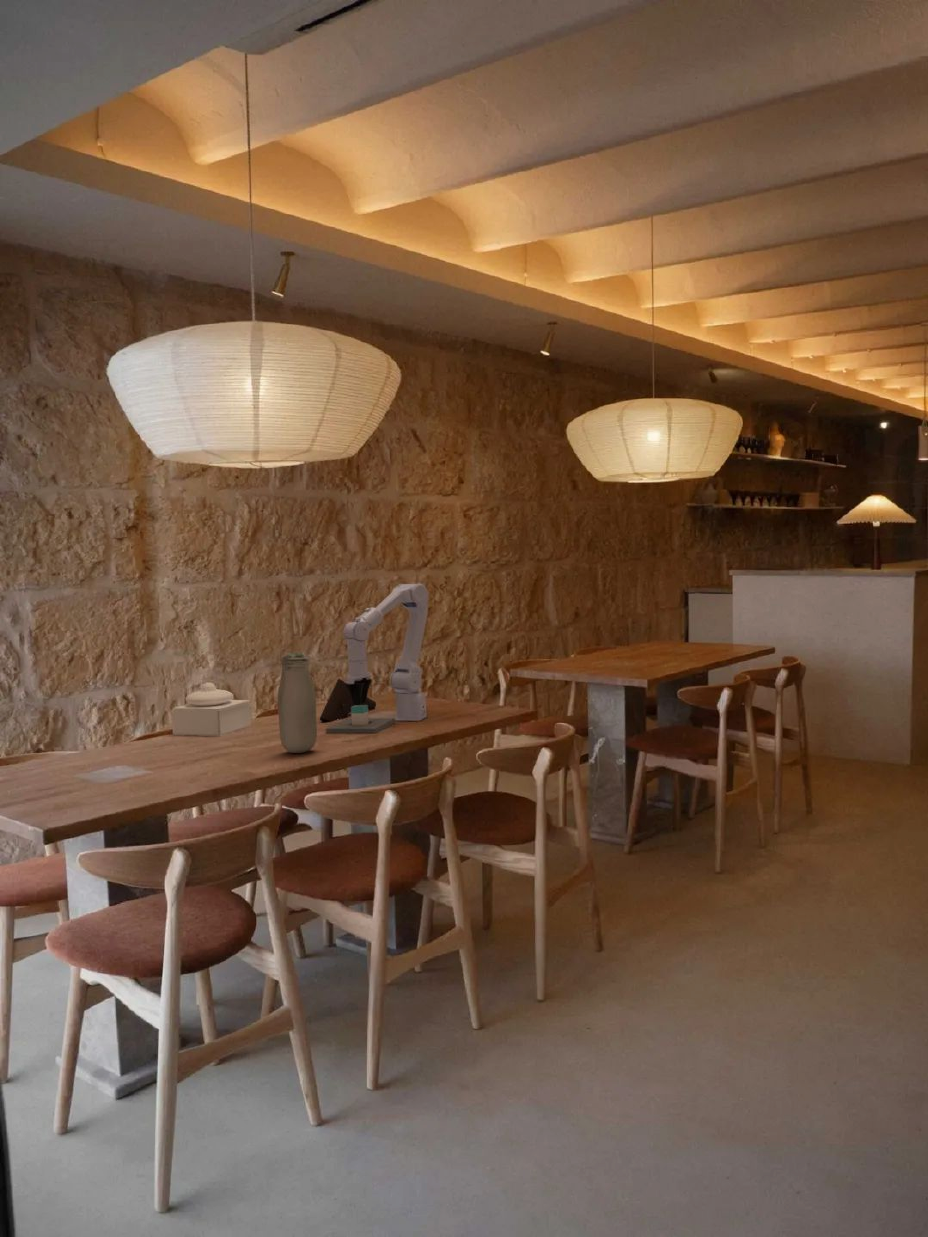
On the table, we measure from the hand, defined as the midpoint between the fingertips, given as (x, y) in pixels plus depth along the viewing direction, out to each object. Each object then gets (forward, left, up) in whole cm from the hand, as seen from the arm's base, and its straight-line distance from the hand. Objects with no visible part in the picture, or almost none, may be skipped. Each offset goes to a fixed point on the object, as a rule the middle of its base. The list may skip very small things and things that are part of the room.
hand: (359, 704), depth 310 cm
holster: (+13, -24, -8) cm, 28 cm away
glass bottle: (+4, +37, -8) cm, 38 cm away
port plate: (0, 0, -8) cm, 8 cm away
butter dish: (+49, +4, -8) cm, 50 cm away
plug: (0, 0, -8) cm, 8 cm away
